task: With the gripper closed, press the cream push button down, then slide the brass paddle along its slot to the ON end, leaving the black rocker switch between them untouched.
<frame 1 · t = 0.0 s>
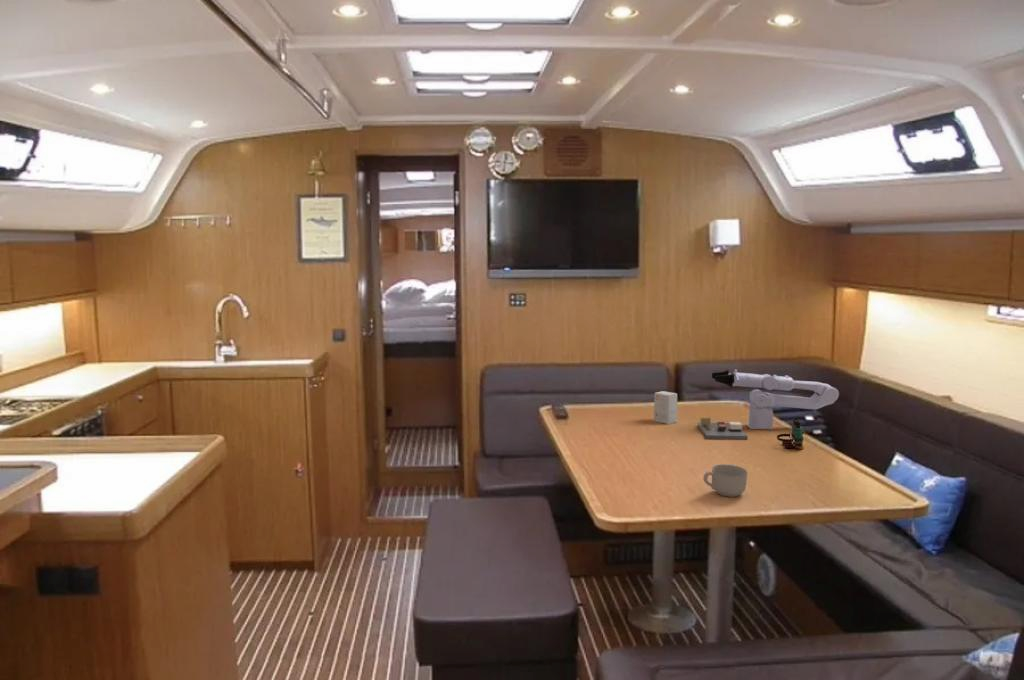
hand: (713, 376, 318), 22 cm above the table, tool horizontal, fingers open, 7 cm apart
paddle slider: (705, 421, 315), point 3 cm above the table, slide at 0.0 cm
rocker switch: (721, 425, 308), point 4 cm above the table, hinge at -12.0°
push button: (735, 425, 307), point 3 cm above the table, slide at 0.0 cm
small box: (665, 422, 330), on the table
switch panel: (721, 432, 310), on the table
figurine with basket: (790, 447, 288), on the table
teacup: (723, 494, 234), on the table
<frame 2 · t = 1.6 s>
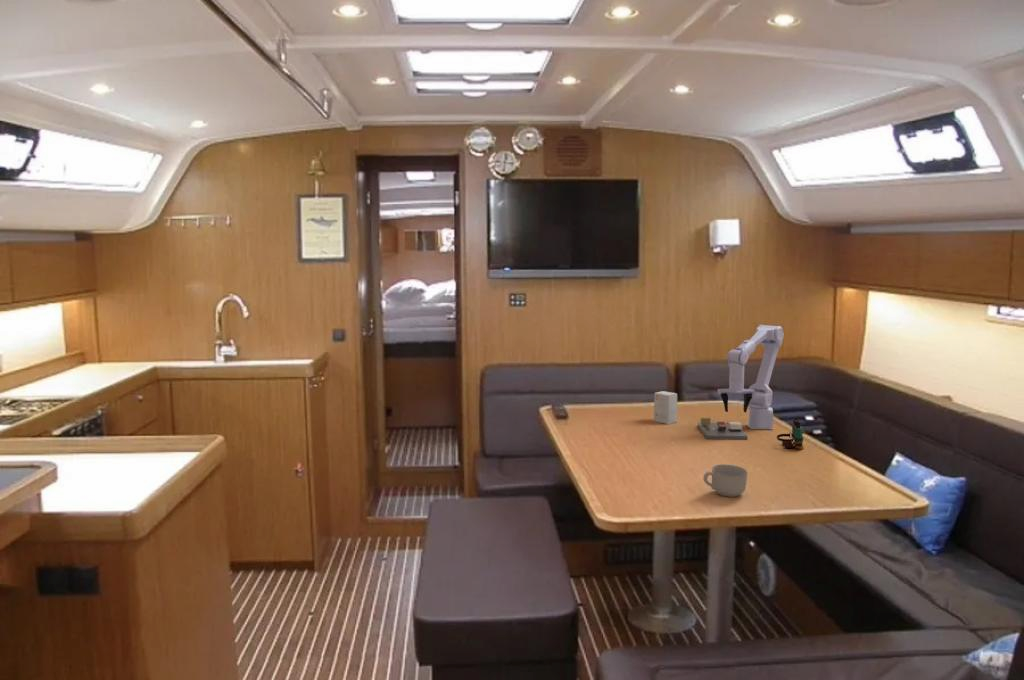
hand: (735, 411, 307), 9 cm above the table, tool pointing down, fingers open, 7 cm apart
nothing on the table moved.
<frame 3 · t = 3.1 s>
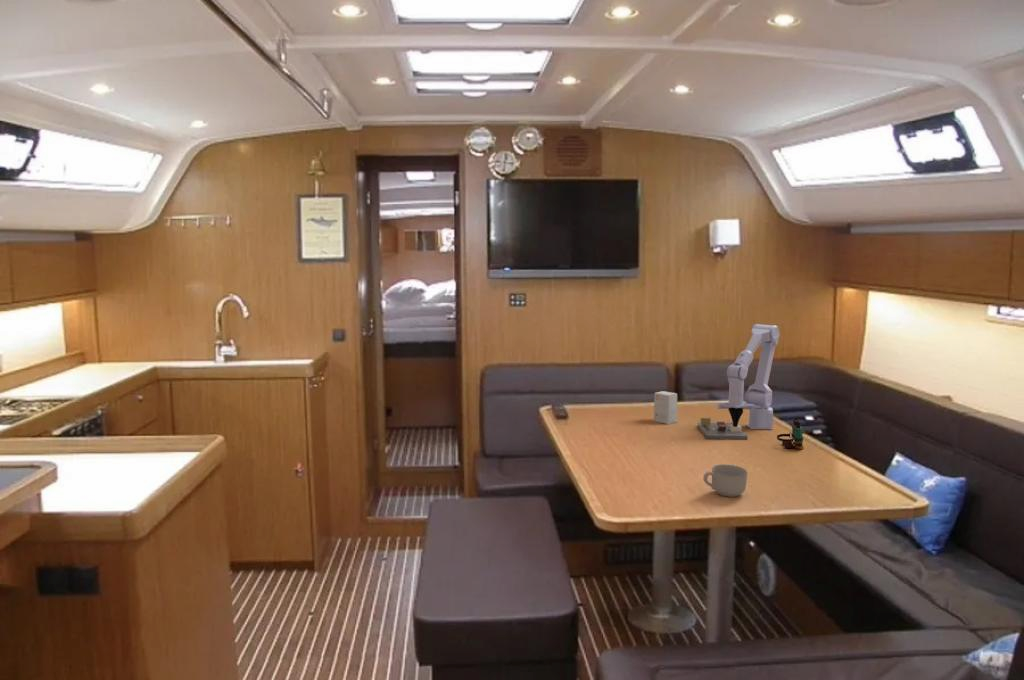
hand: (735, 426, 307), 3 cm above the table, tool pointing down, fingers closed, pressing on push button
push button: (735, 428, 308), point 2 cm above the table, slide at 1.2 cm, touching gripper
everything else where it was.
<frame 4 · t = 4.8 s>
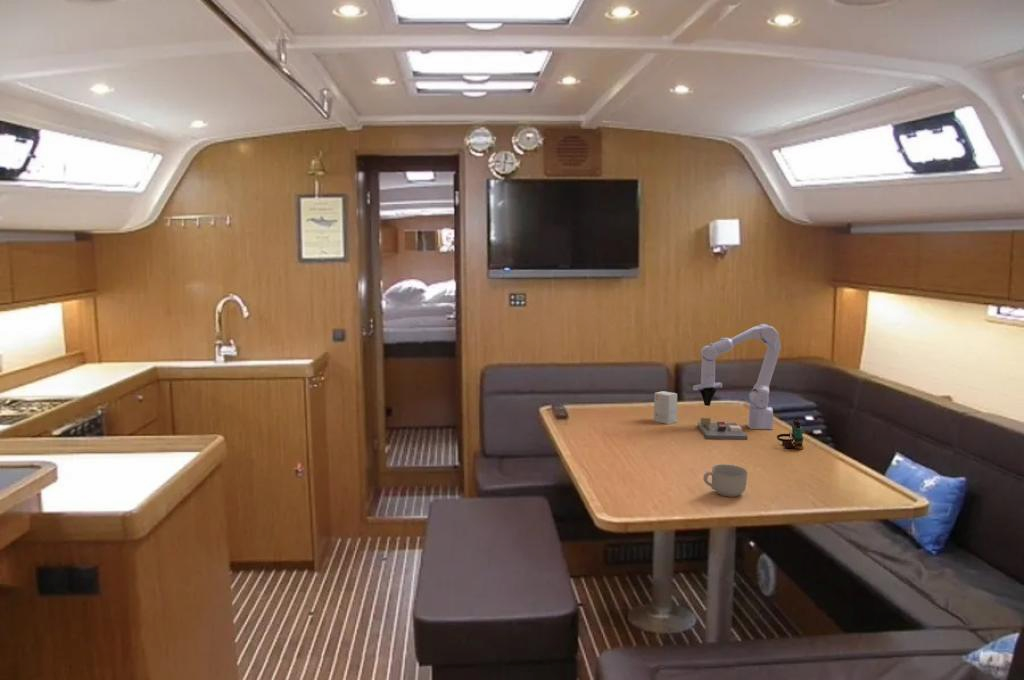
hand: (707, 405, 319), 10 cm above the table, tool pointing down, fingers closed
push button: (735, 429, 308), point 2 cm above the table, slide at 1.4 cm
everything else where it was.
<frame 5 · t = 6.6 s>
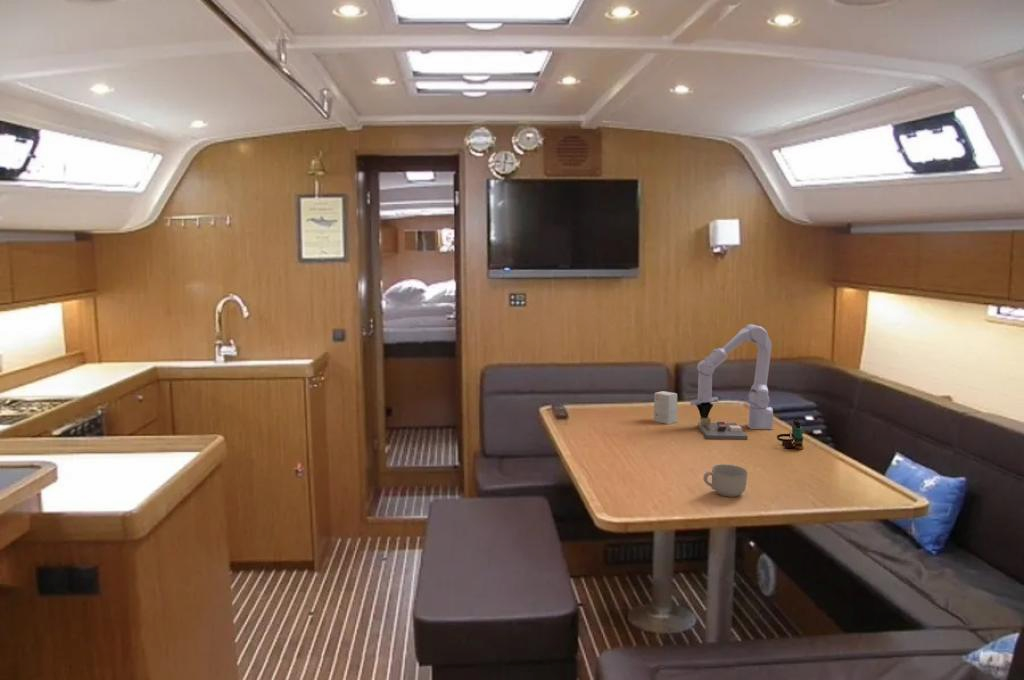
hand: (704, 420, 318), 3 cm above the table, tool pointing down, fingers closed
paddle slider: (705, 421, 315), point 3 cm above the table, slide at 0.0 cm, touching gripper
everything else where it was.
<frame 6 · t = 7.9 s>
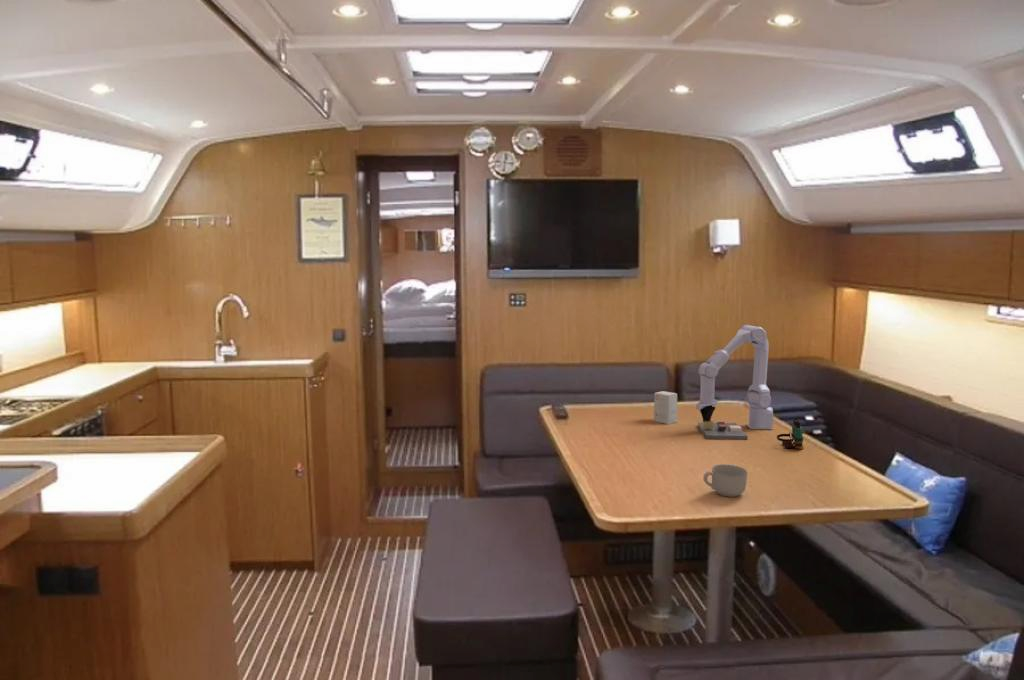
hand: (706, 423, 311), 3 cm above the table, tool pointing down, fingers closed
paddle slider: (707, 424, 309), point 3 cm above the table, slide at 6.3 cm, touching gripper
everything else where it was.
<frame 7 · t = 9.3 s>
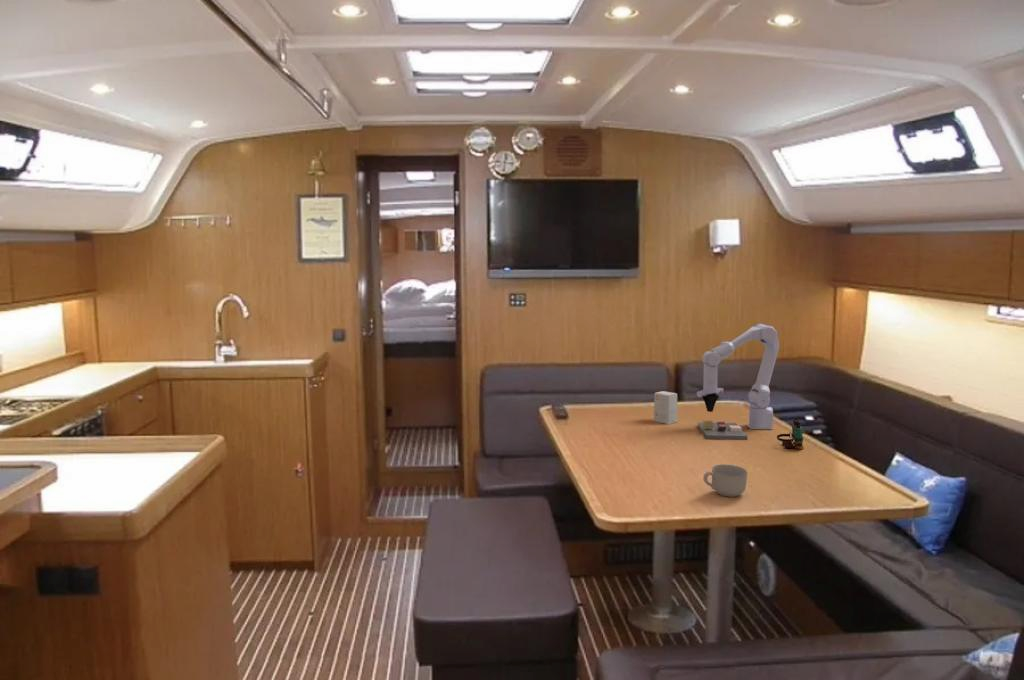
hand: (709, 411, 316), 7 cm above the table, tool pointing down, fingers closed
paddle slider: (707, 424, 309), point 3 cm above the table, slide at 6.1 cm
everything else where it was.
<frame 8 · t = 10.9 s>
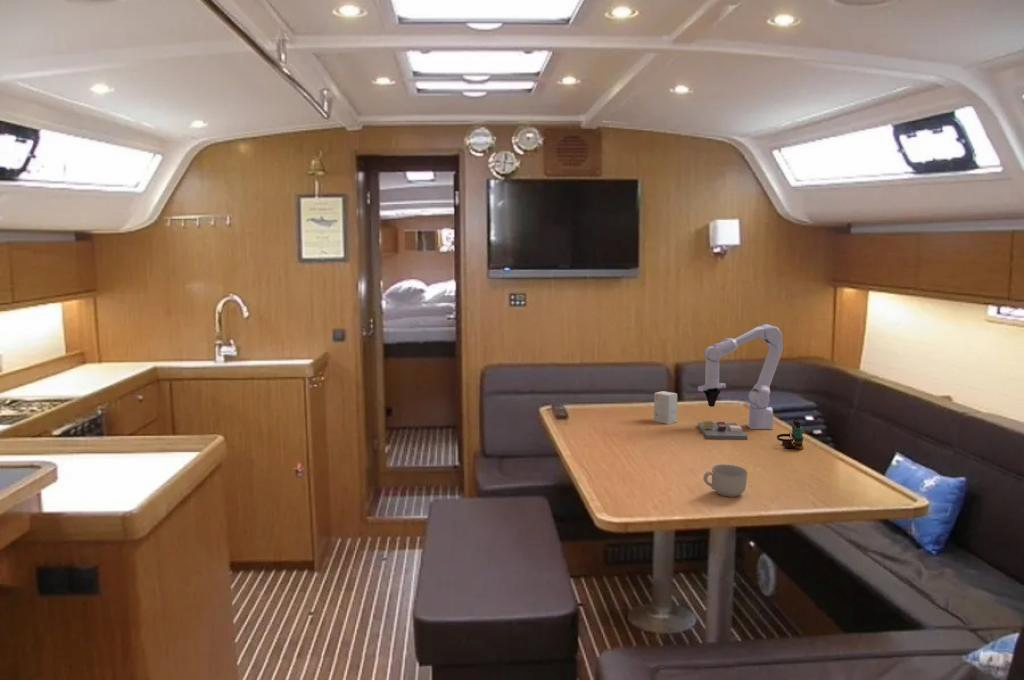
hand: (711, 406, 317), 9 cm above the table, tool pointing down, fingers closed
nothing on the table moved.
at the end: push button slide at 1.4 cm; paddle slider slide at 6.1 cm; rocker switch at -12° (first picture: -12°) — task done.
